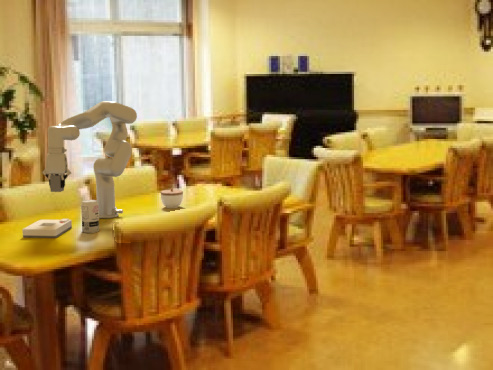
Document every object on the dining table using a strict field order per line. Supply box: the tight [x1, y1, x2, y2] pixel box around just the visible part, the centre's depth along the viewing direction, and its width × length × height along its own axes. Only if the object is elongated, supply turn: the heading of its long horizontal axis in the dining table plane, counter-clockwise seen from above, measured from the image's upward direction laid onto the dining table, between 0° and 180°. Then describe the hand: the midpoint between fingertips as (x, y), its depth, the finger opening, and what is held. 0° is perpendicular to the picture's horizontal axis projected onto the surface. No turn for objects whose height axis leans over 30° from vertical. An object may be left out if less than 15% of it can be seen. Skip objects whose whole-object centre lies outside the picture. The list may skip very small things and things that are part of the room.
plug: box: [49, 174, 65, 193], centre depth 360 cm, size 5×5×10 cm
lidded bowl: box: [160, 187, 184, 209], centre depth 411 cm, size 13×13×11 cm
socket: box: [21, 218, 73, 239], centre depth 349 cm, size 16×22×5 cm
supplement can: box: [80, 199, 100, 234], centre depth 350 cm, size 8×8×15 cm
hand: (57, 187), depth 360 cm, fingers closed on plug, 5 cm apart
